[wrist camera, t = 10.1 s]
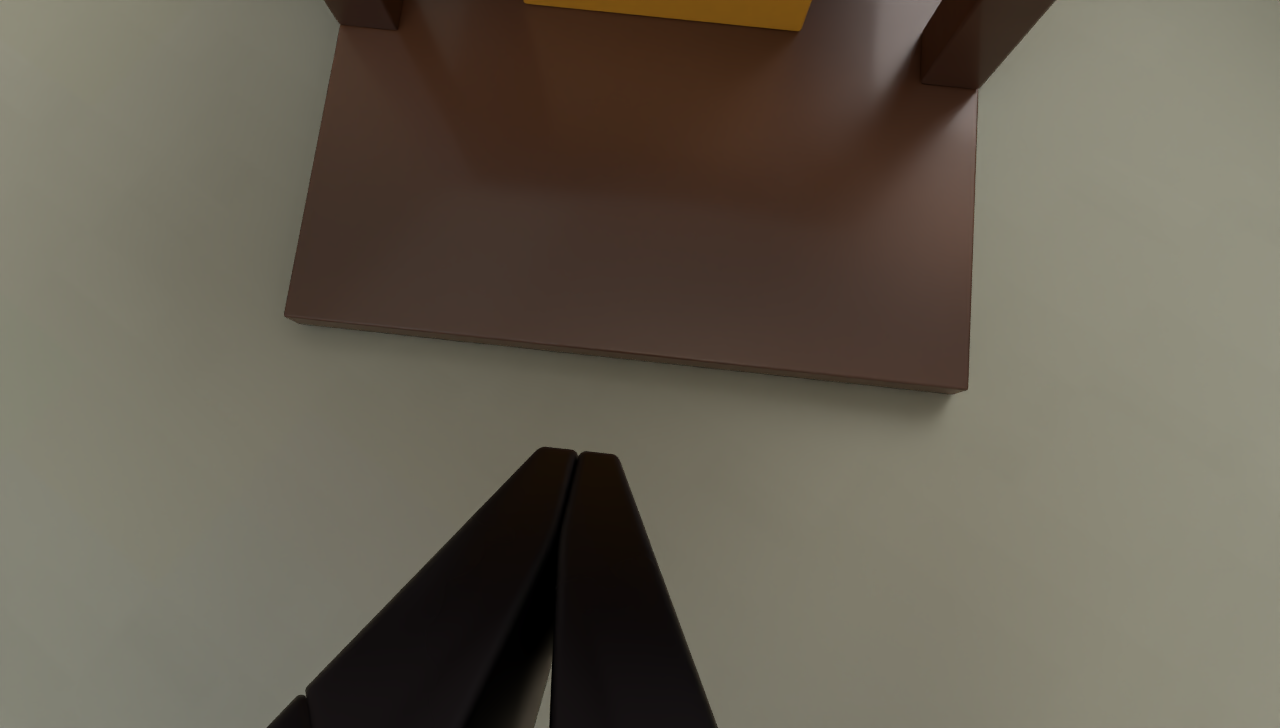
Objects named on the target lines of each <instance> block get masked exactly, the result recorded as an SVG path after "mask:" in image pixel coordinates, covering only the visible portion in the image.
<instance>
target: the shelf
mask: <svg viewBox="0 0 1280 728" xmlns="http://www.w3.org/2000/svg"><path fill="white" fill-rule="evenodd" d="M324 1H325V3H326V4H327V6H328V7H329V9H330V10H331V12H332V13H333V15H334V17H335V18H336V20H337V21H338V23H339V24H340V29H339V34H338V39H337V44H336V49H335V55H334V60H333V65H332V70H331V75H330V80H329V85H328V91H327V96H326V101H325V106H324V111H323V116H322V121H321V127H320V132H319V137H318V142H317V147H316V152H315V157H314V163H313V168H312V173H311V178H310V183H309V188H308V193H307V199H306V204H305V209H304V214H303V219H302V224H301V229H300V235H299V240H298V245H297V250H296V255H295V260H294V265H293V271H292V276H291V281H290V286H289V291H288V296H287V301H286V307H285V312H284V316H285V317H286V318H289V319H291V320H293V321H295V322H297V323H299V324H307V325H316V326H325V327H334V328H344V329H353V330H362V331H371V332H381V333H390V334H399V335H408V336H418V337H427V338H436V339H446V340H455V341H464V342H473V343H483V344H492V345H501V346H510V347H520V348H529V349H538V350H548V351H557V352H566V353H575V354H585V355H594V356H603V357H612V358H622V359H631V360H640V361H649V362H659V363H668V364H677V365H687V366H696V367H705V368H714V369H724V370H733V371H742V372H751V373H761V374H770V375H779V376H789V377H798V378H807V379H816V380H826V381H835V382H844V383H853V384H863V385H872V386H881V387H890V388H900V389H909V390H918V391H928V392H937V393H946V394H955V393H959V392H962V391H966V390H968V377H969V348H970V319H971V290H972V261H973V232H974V203H975V174H976V145H977V116H978V89H979V88H980V87H981V86H982V85H983V84H984V83H985V82H986V80H987V79H988V78H989V77H990V76H991V75H992V73H993V72H994V71H995V70H996V69H997V68H998V67H999V65H1000V64H1001V63H1002V62H1003V61H1004V60H1005V58H1006V57H1007V56H1008V55H1009V54H1010V53H1011V51H1012V50H1013V49H1014V48H1015V47H1016V46H1017V45H1018V43H1019V42H1020V41H1021V40H1022V39H1023V38H1024V36H1025V35H1026V34H1027V33H1028V32H1029V31H1030V29H1031V28H1032V27H1033V26H1034V25H1035V24H1036V23H1037V21H1038V20H1039V19H1040V18H1041V17H1042V16H1043V14H1044V13H1045V12H1046V11H1047V10H1048V9H1049V7H1050V6H1051V5H1052V4H1053V3H1054V2H1055V1H1056V0H812V1H811V4H810V7H809V10H808V12H807V15H806V18H805V21H804V23H803V26H802V29H801V30H800V31H789V30H779V29H769V28H760V27H750V26H740V25H730V24H720V23H710V22H700V21H691V20H681V19H671V18H661V17H651V16H641V15H631V14H622V13H612V12H602V11H592V10H582V9H572V8H562V7H553V6H543V5H533V4H526V3H524V1H523V0H324Z"/></svg>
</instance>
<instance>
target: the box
mask: <svg viewBox="0 0 1280 728" xmlns="http://www.w3.org/2000/svg"><path fill="white" fill-rule="evenodd" d="M523 1H524V3H526V4H533V5H543V6H553V7H562V8H572V9H582V10H592V11H602V12H612V13H622V14H631V15H641V16H651V17H661V18H671V19H681V20H691V21H700V22H710V23H720V24H730V25H740V26H750V27H760V28H769V29H779V30H789V31H800V30H801V29H802V26H803V23H804V21H805V18H806V15H807V12H808V10H809V7H810V4H811V1H812V0H523Z"/></svg>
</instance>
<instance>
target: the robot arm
mask: <svg viewBox="0 0 1280 728" xmlns="http://www.w3.org/2000/svg"><path fill="white" fill-rule="evenodd" d="M551 664H552V677H551V701H550V725H549V728H718V727H717V724H716V721H715V718H714V716H713V713H712V710H711V708H710V705H709V702H708V699H707V697H706V694H705V691H704V688H703V686H702V683H701V680H700V678H699V675H698V672H697V669H696V667H695V664H694V661H693V659H692V656H691V653H690V650H689V648H688V645H687V642H686V639H685V637H684V634H683V631H682V629H681V626H680V623H679V620H678V618H677V615H676V612H675V609H674V607H673V604H672V601H671V599H670V596H669V593H668V590H667V588H666V585H665V582H664V579H663V577H662V574H661V571H660V569H659V566H658V563H657V560H656V558H655V555H654V552H653V550H652V547H651V544H650V541H649V539H648V536H647V533H646V530H645V528H644V525H643V522H642V520H641V517H640V514H639V511H638V509H637V506H636V503H635V500H634V498H633V495H632V492H631V490H630V487H629V484H628V481H627V479H626V476H625V473H624V470H623V468H622V465H621V462H620V460H619V459H618V457H617V456H616V455H613V454H606V453H597V452H588V451H584V452H582V453H581V454H580V455H579V456H578V455H577V453H576V452H575V451H574V450H570V449H561V448H552V447H541V448H539V449H538V450H536V451H535V452H534V453H533V454H532V455H531V457H530V458H529V459H528V460H527V461H526V462H525V463H524V464H523V465H522V466H521V467H520V468H519V469H518V470H517V471H516V472H515V473H514V474H513V475H512V476H511V477H510V478H509V479H508V480H507V481H506V482H505V483H504V484H503V485H502V486H501V487H500V488H499V489H498V490H497V492H496V493H495V494H494V495H493V496H492V497H491V498H490V499H489V500H488V501H487V502H486V503H485V504H484V505H483V506H482V507H481V508H480V509H479V510H478V511H477V512H476V513H475V514H474V515H473V516H472V517H471V518H470V519H469V520H468V521H467V522H466V523H465V524H464V525H463V526H462V528H461V529H460V530H459V531H458V532H457V533H456V534H455V535H454V536H453V537H452V538H451V539H450V540H449V541H448V542H447V543H446V544H445V545H444V546H443V547H442V548H441V549H440V550H439V551H438V552H437V553H436V554H435V555H434V556H433V557H432V558H431V559H430V560H429V561H428V562H427V564H426V565H425V566H424V567H423V568H422V569H421V570H420V571H419V572H418V573H417V574H416V575H415V576H414V577H413V578H412V579H411V580H410V581H409V582H408V583H407V584H406V585H405V586H404V587H403V588H402V589H401V590H400V591H399V592H398V593H397V594H396V595H395V596H394V597H393V599H392V600H391V601H390V602H389V603H388V604H387V605H386V606H385V607H384V608H383V609H382V610H381V611H380V612H379V613H378V614H377V615H376V616H375V617H374V618H373V619H372V620H371V621H370V622H369V623H368V624H367V625H366V626H365V627H364V628H363V629H362V630H361V631H360V632H359V633H358V635H357V636H356V637H355V638H354V639H353V640H352V641H351V642H350V643H349V644H348V645H347V646H346V647H345V648H344V649H343V650H342V651H341V652H340V653H339V654H338V655H337V656H336V657H335V658H334V659H333V660H332V661H331V662H330V663H329V664H328V665H327V666H326V667H325V668H324V669H323V671H322V672H321V673H320V674H319V675H318V676H317V677H316V678H315V679H314V680H313V681H312V682H311V683H310V684H309V685H308V686H307V687H306V690H305V691H306V696H304V695H298V696H297V697H296V698H295V699H294V700H293V701H292V702H291V703H290V704H289V705H288V706H287V707H286V708H285V709H284V710H283V711H282V712H281V713H280V714H279V715H278V716H277V717H276V718H275V719H274V720H273V722H272V723H271V724H270V725H269V726H268V727H267V728H534V726H535V722H536V719H537V715H538V712H539V708H540V704H541V701H542V697H543V694H544V690H545V687H546V683H547V680H548V676H549V672H550V668H551Z"/></svg>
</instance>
